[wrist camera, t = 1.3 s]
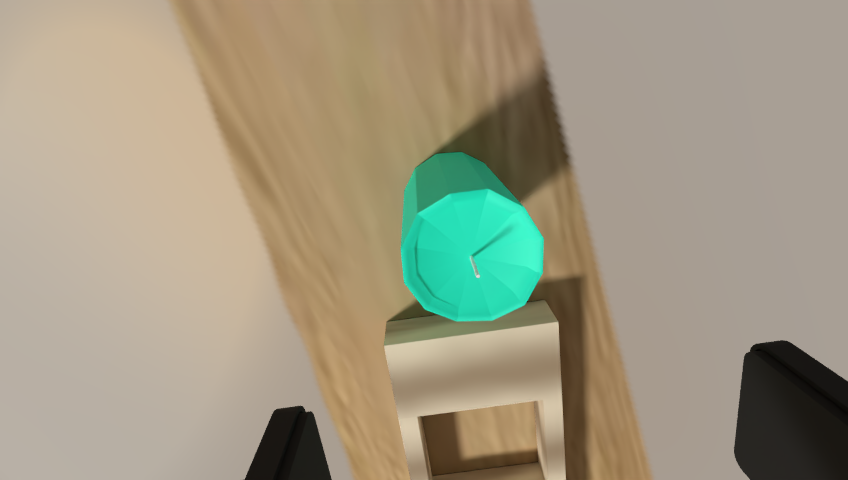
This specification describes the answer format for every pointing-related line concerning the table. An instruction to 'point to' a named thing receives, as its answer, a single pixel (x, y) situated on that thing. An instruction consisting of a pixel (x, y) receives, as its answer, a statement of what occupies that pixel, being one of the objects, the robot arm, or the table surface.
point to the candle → (467, 241)
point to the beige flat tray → (479, 381)
